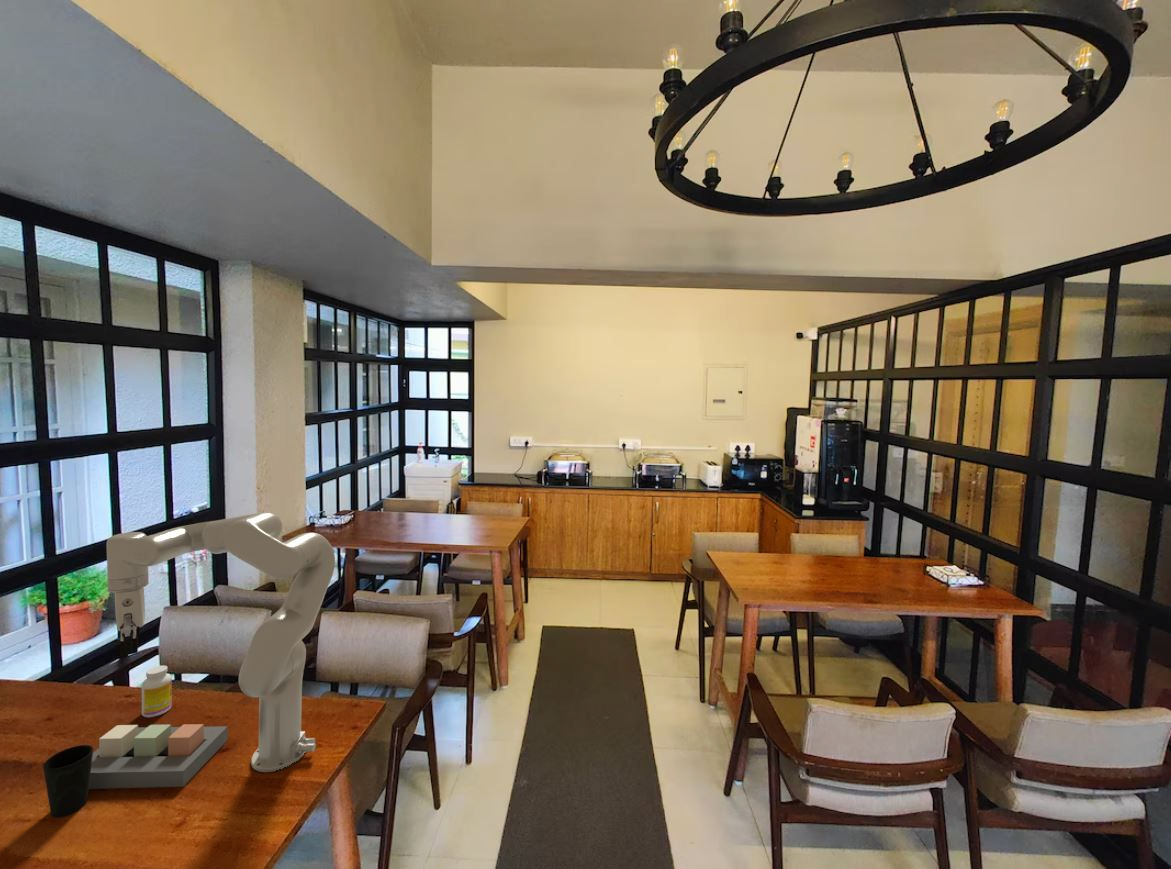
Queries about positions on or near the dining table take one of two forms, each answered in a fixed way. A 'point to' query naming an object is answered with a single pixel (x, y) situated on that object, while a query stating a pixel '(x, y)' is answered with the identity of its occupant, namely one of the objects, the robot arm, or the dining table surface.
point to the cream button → (118, 741)
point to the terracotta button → (186, 740)
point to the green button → (152, 740)
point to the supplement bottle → (156, 692)
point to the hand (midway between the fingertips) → (130, 646)
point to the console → (155, 765)
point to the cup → (68, 779)
